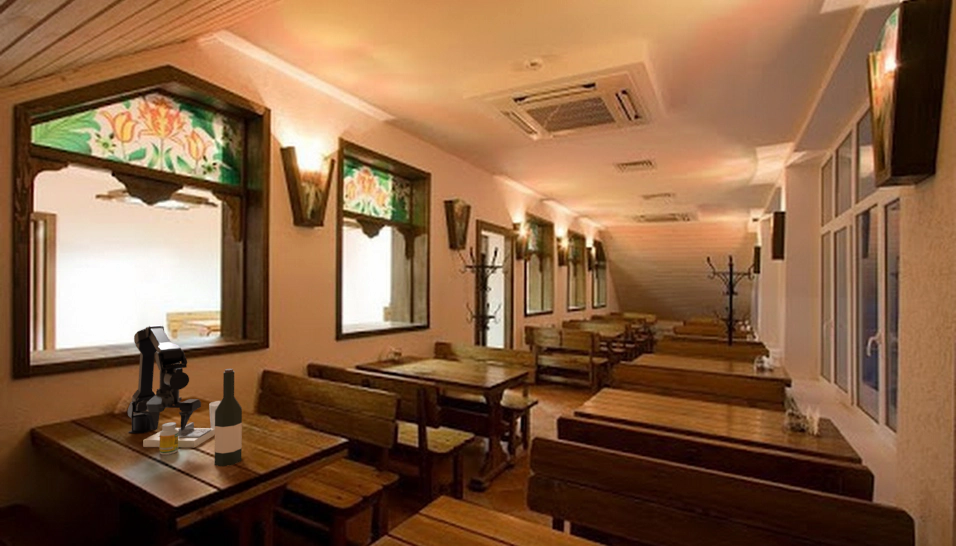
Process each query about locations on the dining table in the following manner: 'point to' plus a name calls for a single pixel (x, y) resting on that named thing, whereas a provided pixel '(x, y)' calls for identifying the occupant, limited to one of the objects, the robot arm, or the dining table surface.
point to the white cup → (213, 412)
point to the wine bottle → (228, 425)
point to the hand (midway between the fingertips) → (169, 430)
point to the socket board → (179, 439)
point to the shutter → (192, 431)
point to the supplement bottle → (168, 439)
